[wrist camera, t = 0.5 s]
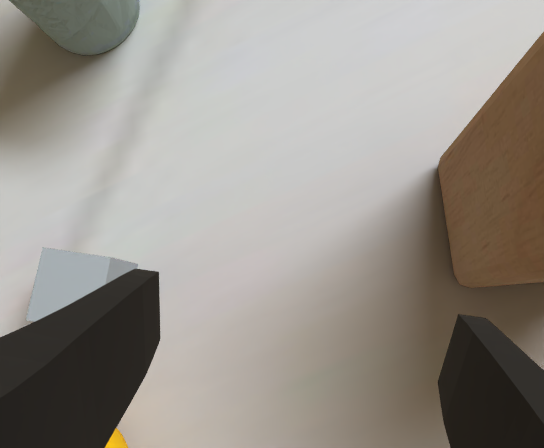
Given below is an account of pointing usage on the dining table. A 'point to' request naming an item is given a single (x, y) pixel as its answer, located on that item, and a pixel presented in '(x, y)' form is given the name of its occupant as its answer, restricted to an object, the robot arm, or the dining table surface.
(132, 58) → the dining table surface
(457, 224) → the block
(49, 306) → the slate block
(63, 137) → the dining table surface
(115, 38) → the grey cup
